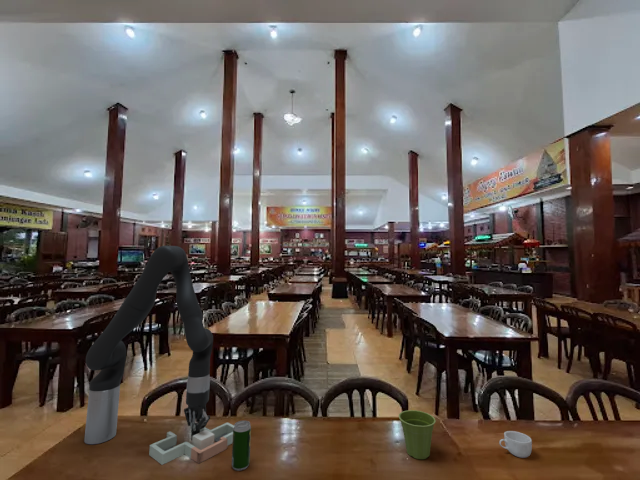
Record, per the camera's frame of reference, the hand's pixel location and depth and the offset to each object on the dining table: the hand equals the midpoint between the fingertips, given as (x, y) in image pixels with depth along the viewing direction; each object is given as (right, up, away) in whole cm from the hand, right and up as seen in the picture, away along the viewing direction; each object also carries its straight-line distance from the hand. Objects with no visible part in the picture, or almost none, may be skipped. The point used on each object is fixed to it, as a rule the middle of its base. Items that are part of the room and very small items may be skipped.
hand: (195, 440), depth 105 cm
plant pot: (+75, -2, -4) cm, 76 cm away
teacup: (+108, -2, -3) cm, 108 cm away
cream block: (+4, -1, -3) cm, 5 cm away
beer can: (+19, 0, -12) cm, 22 cm away
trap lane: (+1, -1, -1) cm, 1 cm away
